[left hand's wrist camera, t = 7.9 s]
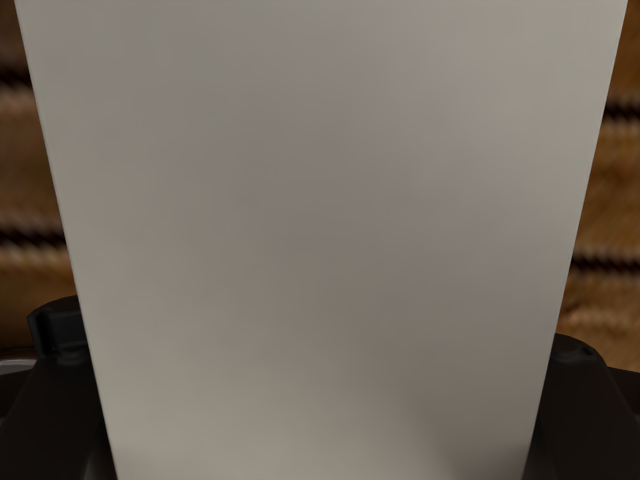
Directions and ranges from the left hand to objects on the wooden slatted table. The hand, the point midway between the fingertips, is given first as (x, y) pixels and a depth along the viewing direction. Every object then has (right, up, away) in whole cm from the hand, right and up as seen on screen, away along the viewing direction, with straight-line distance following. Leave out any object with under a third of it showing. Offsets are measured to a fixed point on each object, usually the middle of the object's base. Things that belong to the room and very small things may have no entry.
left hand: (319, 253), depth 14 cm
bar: (0, +9, -3) cm, 10 cm away
